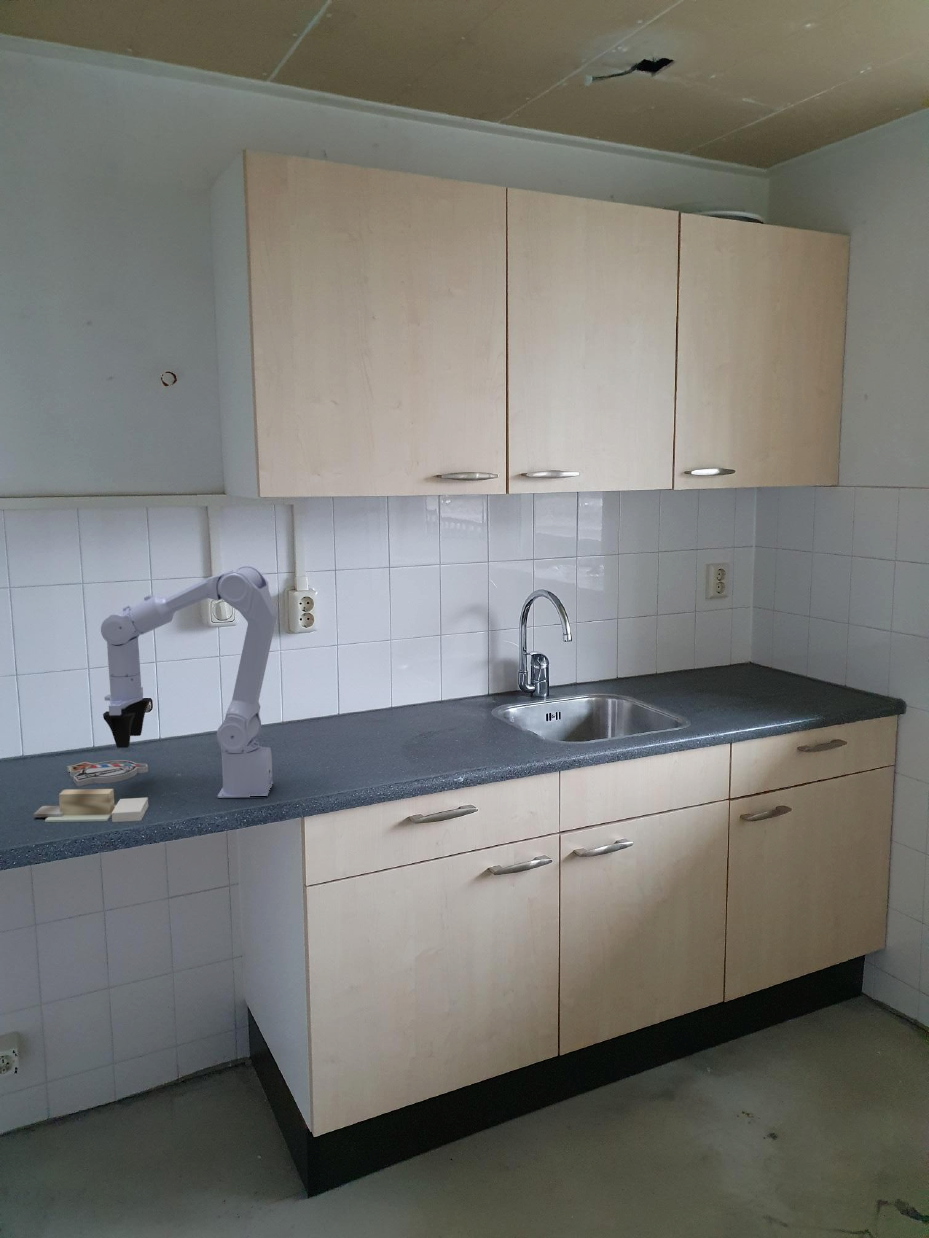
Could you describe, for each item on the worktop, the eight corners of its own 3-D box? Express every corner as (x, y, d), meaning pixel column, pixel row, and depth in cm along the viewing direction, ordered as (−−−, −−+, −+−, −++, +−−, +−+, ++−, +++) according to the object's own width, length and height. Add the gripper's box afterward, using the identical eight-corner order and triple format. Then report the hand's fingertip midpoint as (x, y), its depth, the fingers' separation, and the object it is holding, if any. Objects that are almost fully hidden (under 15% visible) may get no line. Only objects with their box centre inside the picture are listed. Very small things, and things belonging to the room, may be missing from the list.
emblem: (151, 770, 192) (72, 782, 185) (151, 778, 192) (73, 790, 185) (140, 753, 203) (66, 764, 196) (141, 761, 203) (66, 772, 196)
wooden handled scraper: (116, 807, 174) (114, 787, 173) (108, 815, 170) (107, 795, 169) (42, 808, 173) (41, 788, 173) (33, 817, 169) (31, 796, 169)
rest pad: (119, 806, 175) (119, 804, 175) (106, 821, 168) (106, 819, 168) (60, 807, 175) (59, 805, 175) (44, 822, 168) (44, 820, 168)
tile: (147, 797, 175) (140, 811, 169) (148, 807, 176) (141, 822, 169) (120, 798, 175) (111, 813, 168) (120, 809, 175) (112, 824, 168)
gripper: (116, 665, 188) (120, 730, 190) (90, 682, 173) (95, 752, 176) (151, 665, 188) (155, 730, 190) (128, 682, 174) (133, 752, 176)
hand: (129, 741), depth 183 cm, fingers open, 7 cm apart
